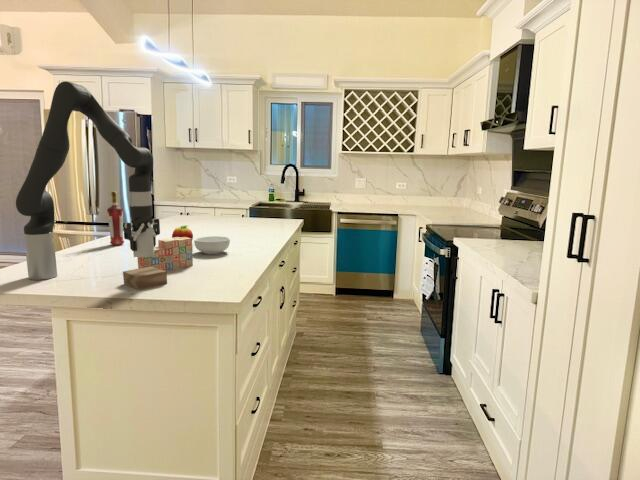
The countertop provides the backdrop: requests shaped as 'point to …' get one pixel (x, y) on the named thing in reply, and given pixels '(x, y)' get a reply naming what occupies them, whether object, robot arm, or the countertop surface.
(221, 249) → the cereal bowl
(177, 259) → the stack of blocks
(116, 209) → the liquor
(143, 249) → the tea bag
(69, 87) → the robot arm
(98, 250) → the countertop surface
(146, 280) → the walnut block
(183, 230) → the fruit
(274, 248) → the countertop surface
